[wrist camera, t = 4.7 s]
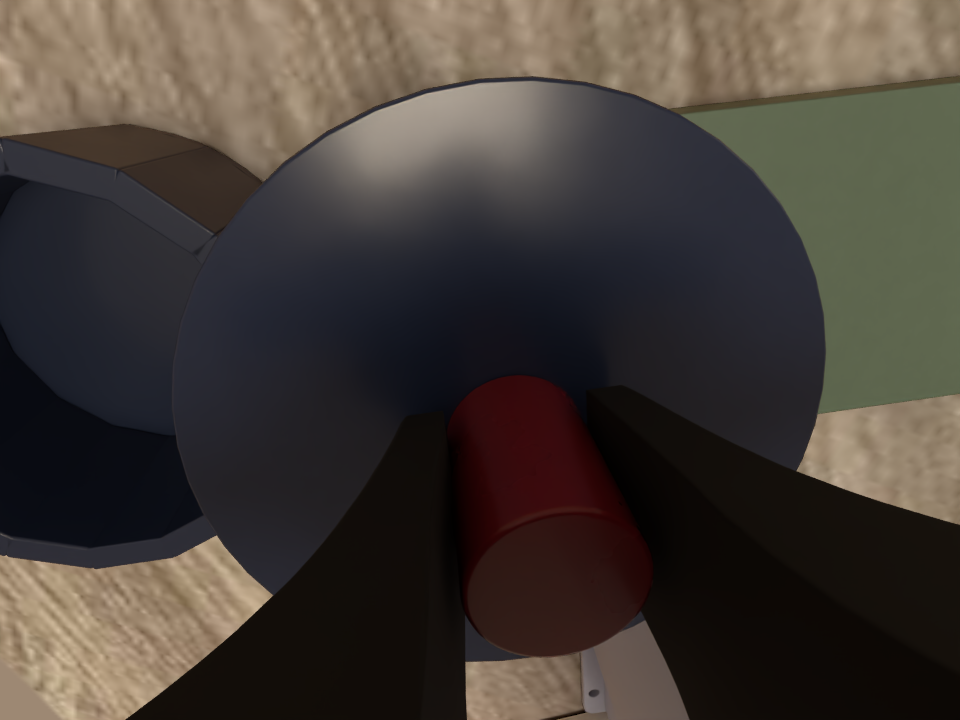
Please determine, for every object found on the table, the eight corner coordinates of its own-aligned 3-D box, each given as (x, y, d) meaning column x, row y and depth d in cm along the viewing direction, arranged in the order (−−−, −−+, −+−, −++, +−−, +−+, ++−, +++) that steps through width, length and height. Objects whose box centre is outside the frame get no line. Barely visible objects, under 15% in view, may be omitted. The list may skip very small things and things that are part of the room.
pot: (354, 421, 21) (333, 534, 16) (56, 462, 21) (-73, 594, 15) (285, 106, 17) (224, 112, 11) (-95, 148, 16) (-353, 175, 11)
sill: (1075, 340, 23) (1148, 367, 21) (569, 410, 22) (587, 447, 20) (1178, 51, 19) (1283, 45, 16) (557, 121, 18) (578, 125, 15)
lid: (762, 579, 14) (914, 790, 10) (281, 657, 13) (219, 917, 9) (830, 38, 9) (1182, -11, 5) (91, 125, 9) (-216, 153, 4)
